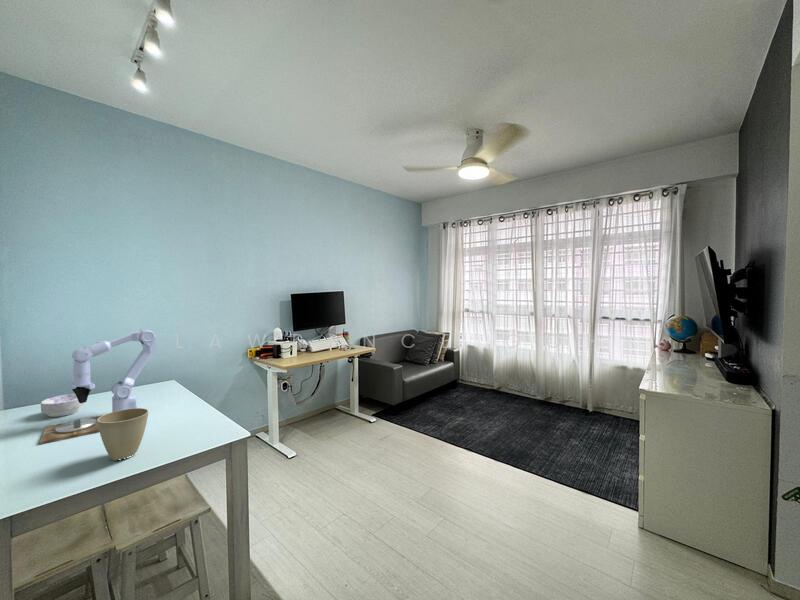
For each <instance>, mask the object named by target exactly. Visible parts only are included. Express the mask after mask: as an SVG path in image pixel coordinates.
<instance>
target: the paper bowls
mask: <svg viewBox="0 0 800 600" xmlns="http://www.w3.org/2000/svg"><path fill="white" fill-rule="evenodd" d="M84 405H85V402H84V403H79V401H78V399H77V396H76V394H75V393H68V394H62V395H57V396H53V397H52V396H51V397H50V398H49V397H48V398H45V399H43V400H42V401H41V402H40V412H41V414H46V415H47V416H48V417H50V418H51V417H52V418H58V417H59V418H60V417H65V416H69V415H72V414H74V413H76V412H77V411H78V410H79V408H80V407H83V406H84Z"/></svg>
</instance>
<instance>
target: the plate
mask: <svg viewBox="0 0 800 600" xmlns="http://www.w3.org/2000/svg"><path fill="white" fill-rule="evenodd" d="M101 416H102V415H100V416H95V417H94V416H93V417H90V418H87V419H95V420H96V424H95V425H94V426H92V427H90V428H87V429H84V430H81V431H76V432H71V433H56V432H55V428H56V427H57V426H59V425H61V424H64V423H65V422H63V423H58V424H52V425H47V426H45V429H44V431H43V434H42V435H41V439H40V441H39V445H40V446H41V445H46V444H50V443H55V442H59V441H63V440H69V439H74V438H79V437H83V436H88V435H93V434H97V433H98V434H99V433H100V432H99V427H98V422H97V419H98V418H99V417H101Z"/></svg>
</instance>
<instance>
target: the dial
mask: <svg viewBox="0 0 800 600" xmlns="http://www.w3.org/2000/svg"><path fill="white" fill-rule="evenodd" d="M63 423H64V424H62V423H60V424H61V425H59V426H57V427H56V428H55V432H56V433H71V432H76V431H81V430H84V429H87V428H90V427H92V426H94V425H95V424H96V420H95V419H88V418H82V419H81V418H79V419H74V420H72V421H67V422H63Z"/></svg>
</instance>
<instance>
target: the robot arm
mask: <svg viewBox="0 0 800 600" xmlns="http://www.w3.org/2000/svg"><path fill="white" fill-rule="evenodd" d="M131 341H132V342H140V343H141V346H142V350H141V351H140V353H139V354H138V355H137V357H136V358H135V360H134V361H133V363H132V364H131V365H130V367H129V368H128V370H127V371H126V373H125V374H124V376H123V377H121V378H120V379H119V380H118V382H116V383H114V384H113V386H112V387H111V392H112V394H113V396H112V397H111V401H112V403H111V404H112V405H111V406H112V407H111V408H112V412H115V411H119V410H125V409H133V408H138V405H137V395H136V394H132V389H133V387H134V385H135V381H136V380H137V378H138V376H139V375H140V373H142V371H143V369H144V367H146V365H147V363H148V362H149V360H150V359H151V357H152V356H153V355H154V353H155V351H156V350H157V336H156V334H155V333H154V331H153V330H150V329H146V328H142V329H139V330H133V331H132V332H129V333H127V334H124V335H122V336H119V337H116V338H114V339H111V340H109V341H107V340H97V341H96V343H92V344H90V345H84V346H83V348H77V349H75V350H74V351H73V352H72V354H71V356H72V358H73V371H72V372H73V381H71V382H70V381H69V387H70V388H73V389H72V390H71V391H72V392H73V394H76V396H77V399H78V401H79V403H84V404H85V403H87V402H88V401H87V400H88V397H89V395H90V392H91V391H92V390H93V389H94V390H95V388H96V384H95V383H93V382H92V381H91V378H92V377H91V363H90V362H91V358H94V357H97V356H100V355H103V354H105V353H107V352H110V350H111V349H112V348H113V347H116V346H120V345H123V344H126V343H128V342H131ZM131 394H132V395H131Z"/></svg>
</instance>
